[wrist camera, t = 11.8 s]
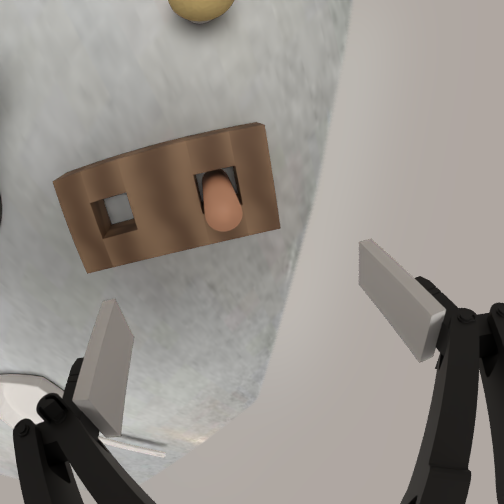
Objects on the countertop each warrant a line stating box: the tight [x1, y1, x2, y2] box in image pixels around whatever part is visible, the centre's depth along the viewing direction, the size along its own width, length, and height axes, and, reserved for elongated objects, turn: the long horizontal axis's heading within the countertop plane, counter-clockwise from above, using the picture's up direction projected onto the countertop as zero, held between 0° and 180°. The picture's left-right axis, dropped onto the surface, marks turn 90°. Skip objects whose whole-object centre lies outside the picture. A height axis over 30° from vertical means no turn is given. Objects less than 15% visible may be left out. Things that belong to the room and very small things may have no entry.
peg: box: [202, 169, 243, 232], centre depth 32 cm, size 3×3×12 cm
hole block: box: [53, 122, 280, 274], centre depth 35 cm, size 24×12×4 cm, turn 100°
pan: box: [0, 374, 166, 457], centre depth 52 cm, size 28×41×4 cm
